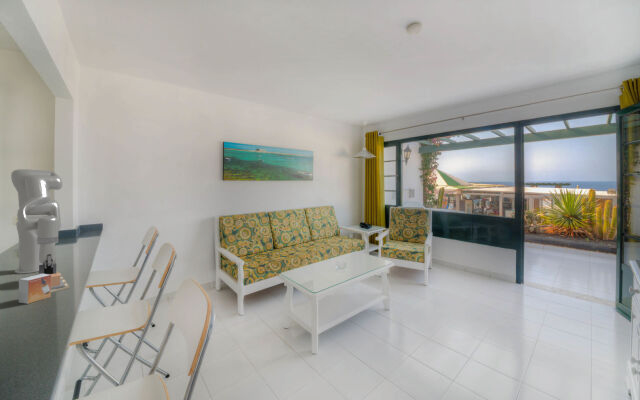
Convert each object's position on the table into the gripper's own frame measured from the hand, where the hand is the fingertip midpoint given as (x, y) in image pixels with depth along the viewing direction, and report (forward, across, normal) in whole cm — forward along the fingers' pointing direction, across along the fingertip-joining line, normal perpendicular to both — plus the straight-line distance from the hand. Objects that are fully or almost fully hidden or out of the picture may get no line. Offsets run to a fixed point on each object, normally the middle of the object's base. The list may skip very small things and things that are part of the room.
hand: (47, 273), depth 131 cm
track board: (+4, +4, 0) cm, 6 cm away
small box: (+4, +27, -6) cm, 28 cm away
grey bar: (+3, +9, 0) cm, 10 cm away
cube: (+2, +16, 0) cm, 17 cm away
